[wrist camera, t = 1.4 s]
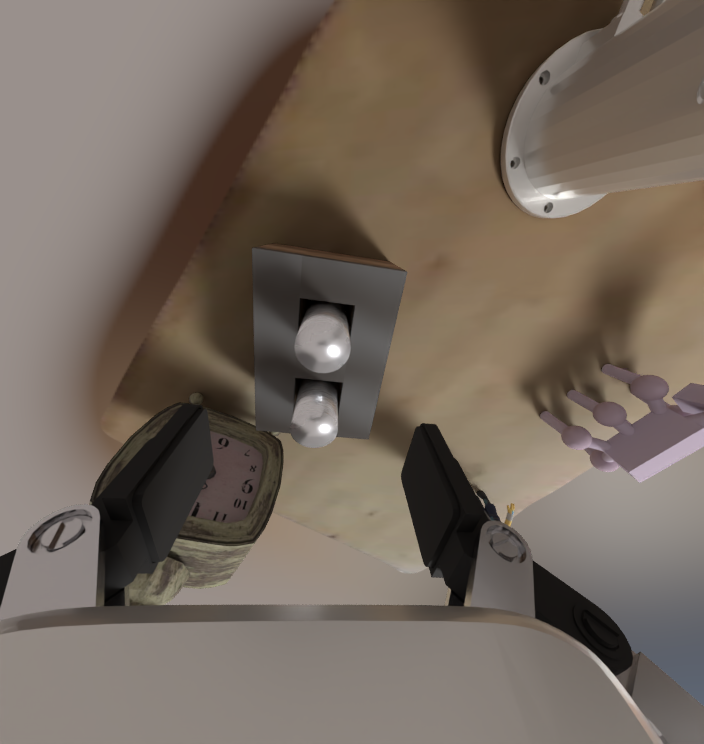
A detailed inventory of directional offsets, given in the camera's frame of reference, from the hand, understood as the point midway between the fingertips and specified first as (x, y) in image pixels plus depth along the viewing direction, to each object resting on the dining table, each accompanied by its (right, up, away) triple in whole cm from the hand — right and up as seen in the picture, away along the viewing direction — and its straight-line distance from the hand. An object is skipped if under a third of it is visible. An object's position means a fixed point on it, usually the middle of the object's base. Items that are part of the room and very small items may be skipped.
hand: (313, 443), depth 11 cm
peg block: (-2, +8, +21) cm, 22 cm away
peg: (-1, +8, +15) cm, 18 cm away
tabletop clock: (-15, -4, +27) cm, 31 cm away
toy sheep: (+38, +1, +27) cm, 47 cm away
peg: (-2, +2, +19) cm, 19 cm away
